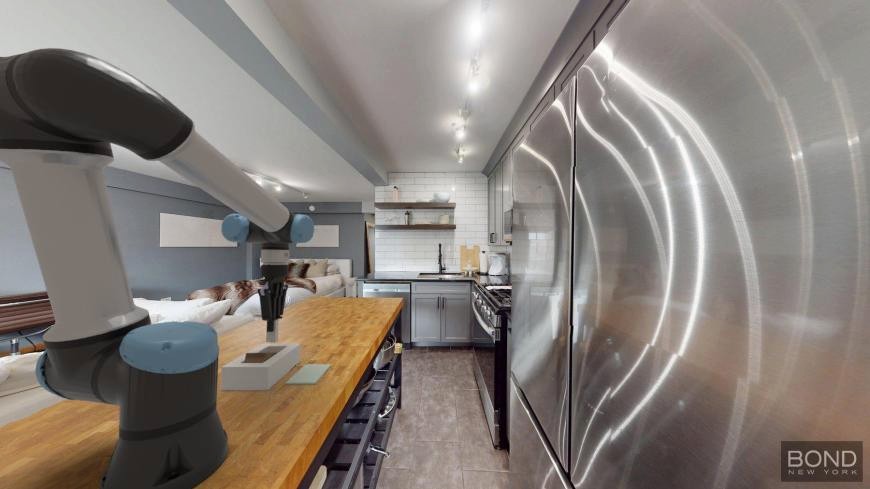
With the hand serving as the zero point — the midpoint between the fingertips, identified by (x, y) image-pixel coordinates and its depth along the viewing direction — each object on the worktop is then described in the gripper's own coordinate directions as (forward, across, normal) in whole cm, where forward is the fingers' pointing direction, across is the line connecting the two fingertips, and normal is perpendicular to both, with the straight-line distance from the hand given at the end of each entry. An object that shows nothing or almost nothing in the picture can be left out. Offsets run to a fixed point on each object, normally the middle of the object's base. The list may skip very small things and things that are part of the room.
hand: (272, 341), depth 84 cm
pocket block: (+9, -3, 0) cm, 9 cm away
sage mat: (+9, -3, -13) cm, 16 cm away
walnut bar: (+5, -3, 0) cm, 6 cm away
